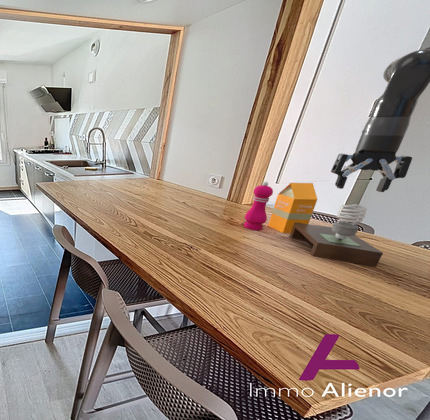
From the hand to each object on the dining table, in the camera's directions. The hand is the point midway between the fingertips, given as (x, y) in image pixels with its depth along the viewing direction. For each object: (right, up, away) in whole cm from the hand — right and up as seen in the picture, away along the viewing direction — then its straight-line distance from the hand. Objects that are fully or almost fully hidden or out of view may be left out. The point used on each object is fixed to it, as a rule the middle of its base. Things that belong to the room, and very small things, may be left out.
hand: (359, 189), depth 74 cm
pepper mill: (-8, -14, +30) cm, 34 cm away
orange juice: (+4, -15, +28) cm, 32 cm away
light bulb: (0, -16, +5) cm, 17 cm away
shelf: (+2, -20, +10) cm, 23 cm away
